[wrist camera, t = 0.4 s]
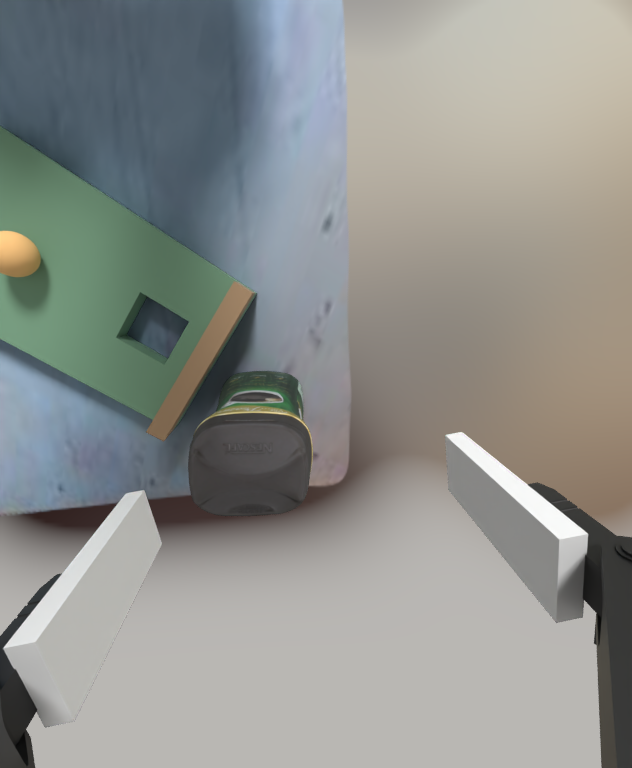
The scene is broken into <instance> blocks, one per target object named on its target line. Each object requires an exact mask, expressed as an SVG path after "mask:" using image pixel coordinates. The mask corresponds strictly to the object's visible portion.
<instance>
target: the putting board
mask: <svg viewBox="0 0 632 768" xmlns="http://www.w3.org/2000/svg"><path fill="white" fill-rule="evenodd" d="M0 231H13V232H16V233H19V234H22V235H24V236H25V237H27V238H28V239H30V240H31V241H32V242H33V243H34V244H35V246H36V247H37V248H38V250H39V253H40V257H41V262H40V265H39V267H38V269H37V270H36V271H35V272H34V273H33V274H31V275H29V276H25V277H11V276H7V275H4V274H2V273H0V339H1V340H3V341H5V342H7V343H9V344H11V345H13V346H14V347H16V348H18V349H20V350H22V351H24V352H26V353H28V354H30V355H31V356H33V357H35V358H37V359H39V360H41V361H43V362H45V363H46V364H48V365H50V366H52V367H54V368H56V369H58V370H60V371H62V372H63V373H65V374H67V375H69V376H71V377H73V378H75V379H77V380H78V381H80V382H82V383H84V384H86V385H88V386H90V387H92V388H94V389H95V390H97V391H99V392H101V393H103V394H105V395H107V396H109V397H110V398H112V399H114V400H116V401H118V402H120V403H122V404H124V405H126V406H127V407H129V408H131V409H133V410H135V411H137V412H139V413H141V414H142V415H144V416H146V417H148V418H150V419H152V420H153V421H152V423H151V424H150V426H149V428H148V430H147V431H146V432H147V433H148V434H150V435H152V436H154V437H156V438H158V439H160V440H162V441H165V439H166V438H167V437H168V436H169V435H170V433H171V432H172V431H173V430H174V429H175V427H176V426H177V425H178V424H179V423H180V421H181V419H182V418H183V416H184V414H185V413H186V411H187V409H188V408H189V406H190V404H191V403H192V401H193V399H194V398H195V396H196V394H197V393H198V391H199V389H200V388H201V386H202V384H203V383H204V381H205V379H206V378H207V376H208V374H209V373H210V371H211V369H212V368H213V366H214V364H215V363H216V361H217V359H218V358H219V356H220V354H221V353H222V351H223V349H224V348H225V346H226V344H227V343H228V341H229V339H230V338H231V336H232V334H233V333H234V331H235V329H236V328H237V326H238V324H239V323H240V321H241V319H242V318H243V316H244V314H245V313H246V311H247V309H248V307H249V306H250V304H251V302H252V301H253V299H254V297H255V296H256V294H257V293H256V292H254V291H253V290H251V289H250V288H248V287H247V286H245V285H244V284H242V283H241V282H239V281H238V280H236V279H234V278H233V277H231V276H230V275H228V274H227V273H225V272H224V271H222V270H221V269H219V268H218V267H216V266H215V265H213V264H211V263H210V262H208V261H207V260H205V259H204V258H202V257H201V256H199V255H198V254H196V253H195V252H193V251H192V250H190V249H189V248H187V247H185V246H184V245H182V244H181V243H179V242H178V241H176V240H175V239H173V238H172V237H170V236H169V235H167V234H166V233H164V232H162V231H161V230H159V229H158V228H156V227H155V226H153V225H152V224H150V223H149V222H147V221H146V220H144V219H143V218H141V217H140V216H138V215H136V214H135V213H133V212H132V211H130V210H129V209H127V208H126V207H124V206H123V205H121V204H120V203H118V202H117V201H115V200H113V199H112V198H110V197H109V196H107V195H106V194H104V193H103V192H101V191H100V190H98V189H97V188H95V187H94V186H92V185H91V184H89V183H87V182H86V181H84V180H83V179H81V178H80V177H78V176H77V175H75V174H74V173H72V172H71V171H69V170H68V169H66V168H64V167H63V166H61V165H60V164H58V163H57V162H55V161H54V160H52V159H51V158H49V157H48V156H46V155H45V154H43V153H42V152H40V151H38V150H37V149H35V148H34V147H32V146H31V145H29V144H28V143H26V142H25V141H23V140H22V139H20V138H19V137H17V136H15V135H14V134H12V133H11V132H9V131H8V130H6V129H5V128H3V127H2V126H0ZM147 296H148V297H149V298H151V299H152V300H154V301H156V302H157V303H159V304H161V305H162V306H164V307H166V308H167V309H169V310H171V311H172V312H174V313H176V314H177V315H179V316H181V317H182V318H184V319H185V320H187V321H189V323H188V325H187V326H186V328H185V330H184V332H183V333H182V335H181V337H180V339H179V340H178V342H177V344H176V346H175V347H174V349H173V351H172V353H171V354H170V356H169V358H166V357H164V356H163V355H161V354H159V353H157V352H156V351H154V350H152V349H150V348H149V347H147V346H145V345H143V344H142V343H140V342H138V341H136V340H135V339H133V338H131V337H130V336H128V335H127V333H128V331H129V329H130V327H131V326H132V324H133V322H134V320H135V318H136V316H137V314H138V313H139V311H140V309H141V307H142V305H143V303H144V301H145V300H146V298H147Z"/></svg>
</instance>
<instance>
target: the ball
mask: <svg viewBox="0 0 632 768" xmlns="http://www.w3.org/2000/svg"><path fill="white" fill-rule="evenodd" d="M40 262H41V257H40V253H39V250H38V248H37V247H36V246H35V244H34V243H33V242H32V241H31V240H30V239H28V238H27V237H25V236H24V235H22V234H19V233H16V232H13V231H0V273H2V274H4V275H7V276H11V277H25V276H29V275H31V274H33V273H34V272H35V271H36V270H37V269H38V267H39V265H40Z"/></svg>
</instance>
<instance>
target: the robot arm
mask: <svg viewBox="0 0 632 768" xmlns="http://www.w3.org/2000/svg"><path fill="white" fill-rule="evenodd" d="M445 442H446V456H447V474H448V490H449V491H450V492H451V494H452V495H453V496H454V497H455V499H456V500H457V501H458V502H459V503H460V505H461V506H462V507H463V508H464V510H465V511H466V512H467V513H468V515H469V516H470V517H471V518H472V519H473V521H474V522H475V523H476V524H477V526H478V527H479V528H480V529H481V531H482V532H483V533H484V534H485V536H486V537H487V538H488V539H489V541H490V542H491V543H492V544H493V545H494V547H495V548H496V549H497V550H498V552H499V553H500V554H501V555H502V557H503V558H504V559H505V560H506V561H507V563H508V564H509V565H510V566H511V568H512V569H513V570H514V571H515V573H516V574H517V575H518V576H519V578H520V579H521V580H522V581H523V582H524V583H525V585H526V586H527V587H528V589H529V590H530V591H531V592H532V594H533V595H534V596H535V597H536V598H537V600H538V601H539V602H540V603H541V605H542V606H543V607H544V608H545V610H546V611H547V612H548V613H549V615H550V616H551V617H552V618H553V619H554V621H555V622H556V623H558V622H563V621H567V620H572V619H577V618H582V617H583V607H584V600H585V601H586V602H587V603H588V604H589V605H590V606H591V608H592V609H593V610H594V611H595V612H596V613H597V614H596V625H595V638H594V644H597V664H598V665H597V666H598V689H599V715H600V738H601V763H602V768H632V538H631V537H623V536H616V535H614V534H613V533H612V532H611V531H609V530H608V529H607V528H605V527H604V526H603V525H601V524H600V523H599V522H597V521H596V520H594V519H593V518H592V517H590V516H589V515H588V514H586V513H585V512H584V511H582V510H581V509H578V508H577V506H576V505H574V504H573V503H572V502H570V501H567V499H566V498H565V497H564V496H562V495H561V494H560V493H558V492H557V491H556V490H554V489H552V488H549V487H547V486H545V485H542V484H540V483H533V484H526V483H524V482H523V481H522V480H521V479H519V478H518V477H517V476H516V475H515V474H513V473H512V472H511V471H510V470H508V469H507V468H506V467H505V466H503V465H502V464H501V463H500V462H498V461H497V460H496V459H495V458H494V457H492V456H491V455H490V454H489V453H487V452H486V451H485V450H484V449H482V448H481V447H480V446H479V445H477V444H476V443H475V442H474V441H473V440H471V439H470V438H469V437H468V436H466V435H465V434H464V433H463V432H460V433H454V434H449V435H445ZM161 545H162V542H161V539H160V536H159V533H158V530H157V527H156V524H155V521H154V518H153V515H152V512H151V509H150V506H149V503H148V500H147V497H146V494H145V491H144V490H141V491H136V492H130V493H126V494H125V495H124V497H123V498H122V499H121V500H120V502H119V503H118V504H117V505H116V507H115V508H114V509H113V510H112V512H111V513H110V514H109V516H108V517H107V518H106V519H105V520H104V522H103V523H102V524H101V526H100V527H99V528H98V529H97V531H96V532H95V533H94V534H93V536H92V537H91V538H90V539H89V541H88V542H87V543H86V544H85V546H84V547H83V548H82V549H81V551H80V552H79V553H78V554H77V556H76V557H75V558H74V560H73V561H72V562H71V563H70V565H69V566H68V567H67V568H66V570H65V571H64V572H63V574H57V575H56V576H54V577H53V578H52V579H51V580H50V581H48V582H47V583H46V584H45V585H43V586H42V587H41V588H40V589H39V590H38V591H37V593H36V594H35V595H34V596H33V598H32V599H31V600H30V601H29V602H28V605H27V606H25V607H24V608H23V609H22V611H21V612H20V613H19V614H18V617H17V618H16V619H14V621H12V623H11V624H10V625H9V626H8V628H7V629H6V630H5V631H4V632H3V634H2V635H1V636H0V768H35V764H34V757H33V750H32V743H31V738H30V736H29V734H28V732H27V730H26V728H27V727H28V725H29V723H30V721H31V720H32V718H33V717H34V715H35V713H36V712H37V713H38V715H39V717H40V719H41V721H42V723H43V725H44V727H50V726H54V725H59V724H64V723H69V722H73V721H75V719H76V717H77V715H78V713H79V711H80V709H81V707H82V705H83V703H84V701H85V699H86V697H87V695H88V693H89V691H90V689H91V687H92V685H93V683H94V681H95V679H96V677H97V675H98V673H99V671H100V669H101V667H102V665H103V662H104V661H105V659H106V657H107V654H108V652H109V650H110V648H111V646H112V644H113V642H114V640H115V638H116V636H117V634H118V632H119V630H120V628H121V626H122V624H123V622H124V620H125V618H126V616H127V614H128V612H129V610H130V608H131V606H132V604H133V602H134V600H135V598H136V596H137V593H138V592H139V590H140V588H141V585H142V584H143V581H144V579H145V577H146V575H147V573H148V571H149V569H150V567H151V565H152V563H153V561H154V559H155V557H156V555H157V553H158V551H159V549H160V547H161Z"/></svg>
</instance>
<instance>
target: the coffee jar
mask: <svg viewBox="0 0 632 768" xmlns="http://www.w3.org/2000/svg"><path fill="white" fill-rule="evenodd" d="M303 413H304V399H303V392H302V388H301V385H300V383H299V382H298V380H297V379H296V378H295V377H293V376H291V375H289V374H286V373H281V372H271V371H253V372H244V373H238V374H235V375H233V376H231V377H230V378H229V379H228V380H227V381H226V382H225V384H224V386H223V388H222V391H221V394H220V398H219V403H218V407H217V410H216V412H215V413H214V414H212V415H211V416H209V417H208V418H206V419H205V420H204V421H203V422H202V423H201V424H200V425H199V426H198V427H197V429H196V431H195V433H194V435H193V440H192V443H191V445H190V452H189V462H188V472H189V484H190V491H191V495H192V499H193V501H194V503H195V504H196V505H198V507H200V508H201V509H202V510H204V511H206V512H209V513H212V514H215V515H221V516H257V515H268V514H280V513H285V512H288V511H291V510H292V509H295V508H296V507H297V506H299V505H300V504H301V503H302V502H303V500H304V499H305V497H306V494H307V490H308V485H309V478H310V472H311V467H312V459H313V447H312V439H311V435H310V431H309V429H308V427H307V426H306V424H305V423H304V421H303Z"/></svg>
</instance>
